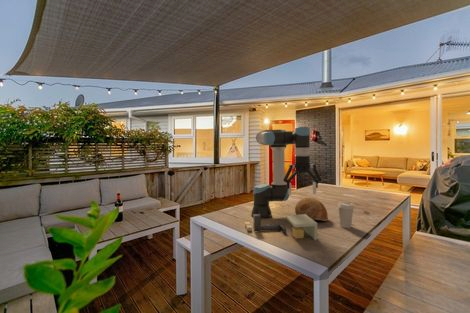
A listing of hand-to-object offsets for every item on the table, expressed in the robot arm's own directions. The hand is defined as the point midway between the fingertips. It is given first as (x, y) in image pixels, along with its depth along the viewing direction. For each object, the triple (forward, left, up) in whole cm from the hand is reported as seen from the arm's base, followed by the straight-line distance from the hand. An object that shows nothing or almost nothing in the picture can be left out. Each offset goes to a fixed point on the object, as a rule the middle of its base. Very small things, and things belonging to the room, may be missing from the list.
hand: (302, 194), depth 123 cm
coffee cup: (-18, +37, -27) cm, 49 cm away
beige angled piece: (-10, +3, -27) cm, 29 cm away
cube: (-8, +1, -27) cm, 28 cm away
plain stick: (-24, -26, -27) cm, 45 cm away
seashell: (-35, +21, -27) cm, 49 cm away
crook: (-17, -14, -27) cm, 35 cm away
